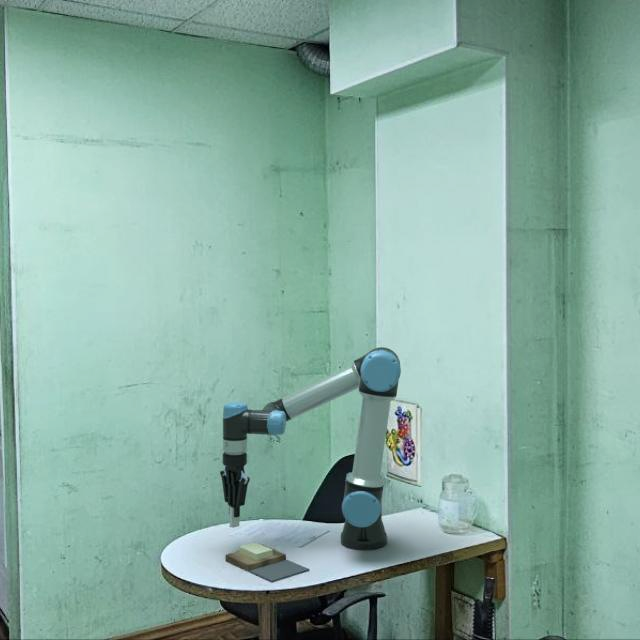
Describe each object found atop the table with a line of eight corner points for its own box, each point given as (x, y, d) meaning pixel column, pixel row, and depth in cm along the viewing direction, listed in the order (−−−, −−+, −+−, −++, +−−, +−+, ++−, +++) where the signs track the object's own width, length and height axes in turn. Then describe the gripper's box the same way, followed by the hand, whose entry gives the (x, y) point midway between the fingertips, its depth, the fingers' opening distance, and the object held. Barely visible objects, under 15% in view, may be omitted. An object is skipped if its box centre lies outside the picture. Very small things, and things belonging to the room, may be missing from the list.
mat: (287, 561, 254) (287, 559, 254) (309, 570, 247) (309, 568, 247) (249, 572, 245) (249, 570, 245) (271, 582, 237) (271, 580, 237)
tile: (239, 552, 256) (239, 546, 256) (254, 548, 260) (254, 542, 260) (256, 560, 249) (256, 554, 249) (272, 556, 253) (272, 549, 253)
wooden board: (262, 550, 264) (262, 544, 264) (286, 560, 255) (286, 554, 255) (225, 561, 255) (225, 554, 255) (248, 571, 246) (248, 565, 246)
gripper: (213, 450, 263) (212, 523, 265) (237, 457, 253) (236, 533, 255) (232, 446, 268) (232, 519, 270) (257, 454, 258) (256, 529, 260)
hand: (234, 526), depth 262 cm, fingers closed
